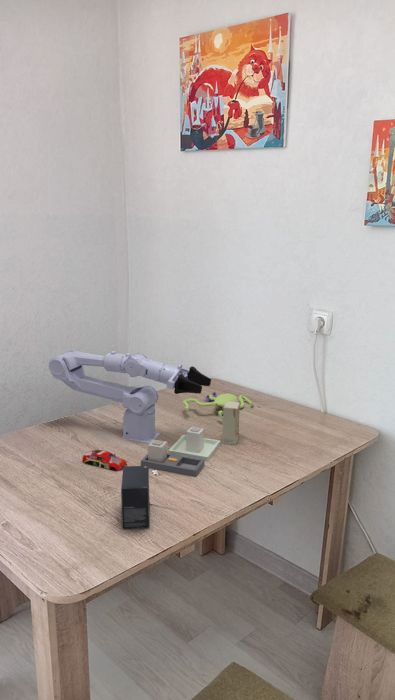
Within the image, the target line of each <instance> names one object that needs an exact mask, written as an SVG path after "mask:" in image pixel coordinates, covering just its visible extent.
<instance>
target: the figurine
mask: <svg viewBox="0 0 395 700" xmlns="http://www.w3.org/2000/svg"><path fill="white" fill-rule="evenodd" d="M205 400H206V402H200V401H198V399H196V398H187V399H184V400H183V401H182V404H183V406H184V407H185V408H184V411H185V412H188V411H189V410H190V409H189V408H190V406H189V403H195V404H196V405H197V406H200V407H211V406H219V407H221V410H219V411H217V414H218V416H219V417H220V418H221V420H222V421H223V410H224V406H225V403H226V401H230V402H238V400H239V402H240V409H243V407H244V405H245V402H246V403H247V404H248V405H249V406H250V407H254V406H255V404H254V403H253V402H252V401H251V399H250V398H247V397H246V396H244V395H243V394H241V395H238V397H237V395H235V394H233V393H229V392H228V393H222V394H219V395H217V392H212V393H210V394H208V395H206V396H205ZM212 401H213V402H212Z"/></svg>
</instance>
